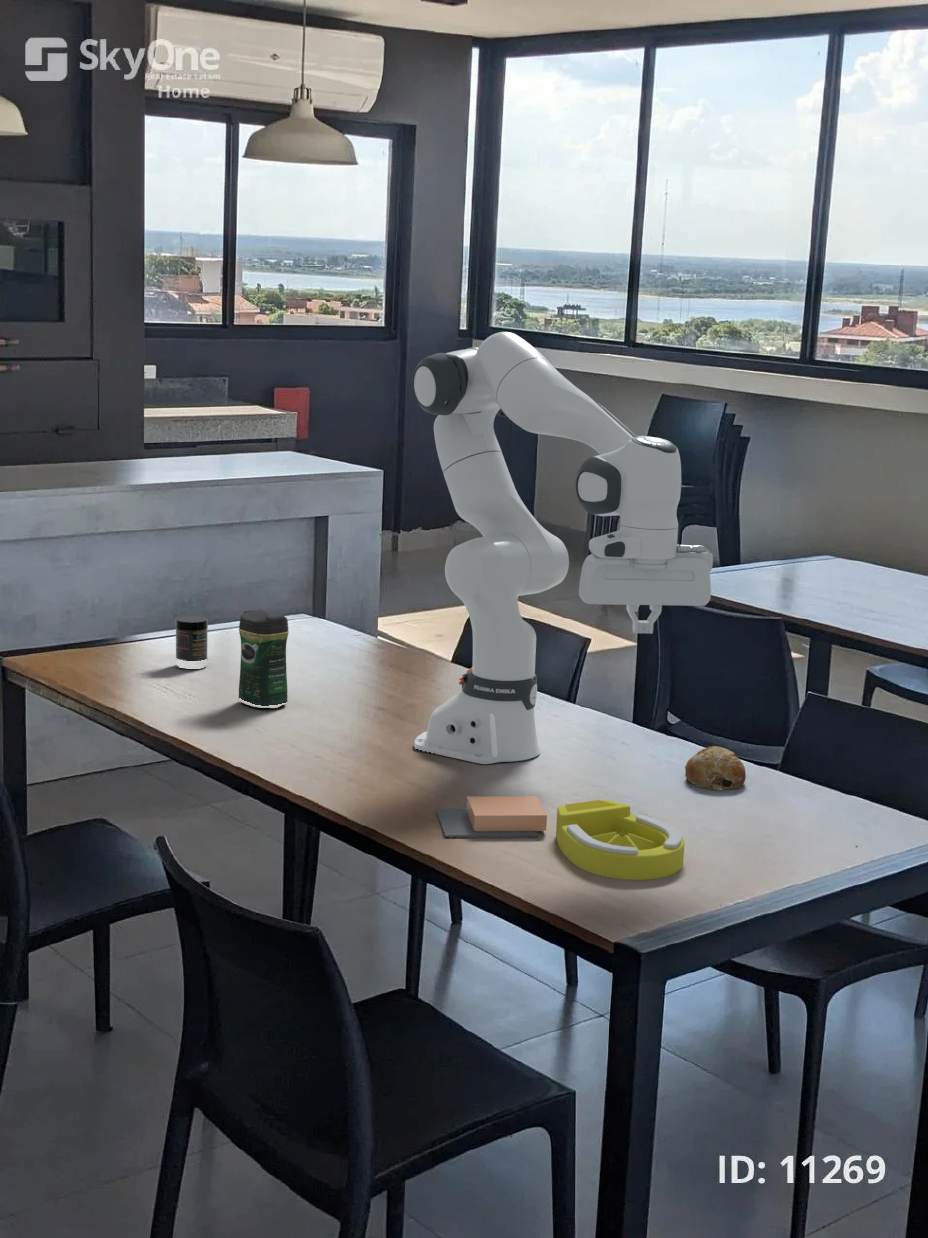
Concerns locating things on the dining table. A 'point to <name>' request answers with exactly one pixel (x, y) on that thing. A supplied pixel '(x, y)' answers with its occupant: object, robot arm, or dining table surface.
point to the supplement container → (191, 638)
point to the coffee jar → (263, 657)
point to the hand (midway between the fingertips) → (642, 632)
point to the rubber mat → (460, 826)
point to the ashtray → (618, 841)
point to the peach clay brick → (506, 813)
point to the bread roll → (715, 769)
